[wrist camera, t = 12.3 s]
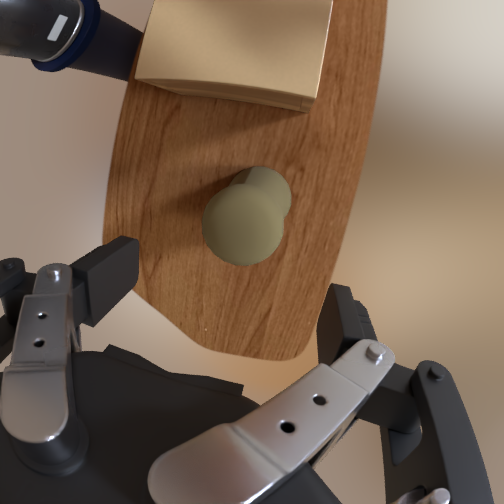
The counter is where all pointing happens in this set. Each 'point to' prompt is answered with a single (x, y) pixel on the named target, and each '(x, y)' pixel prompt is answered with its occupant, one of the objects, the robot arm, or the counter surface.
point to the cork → (247, 216)
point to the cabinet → (237, 49)
